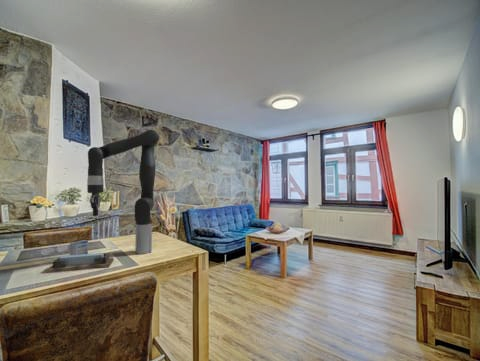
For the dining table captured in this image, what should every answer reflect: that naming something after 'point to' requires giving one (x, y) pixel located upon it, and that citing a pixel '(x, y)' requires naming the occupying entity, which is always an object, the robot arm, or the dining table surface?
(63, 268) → the endcap board
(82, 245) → the medicine box
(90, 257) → the grey long block
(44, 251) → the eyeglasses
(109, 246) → the dining table surface
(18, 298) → the dining table surface
